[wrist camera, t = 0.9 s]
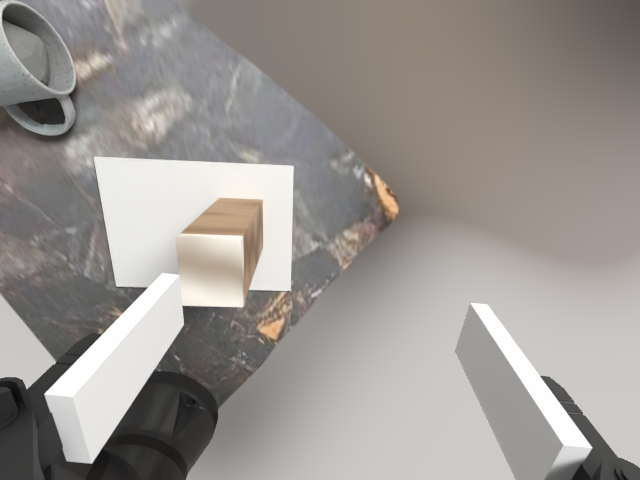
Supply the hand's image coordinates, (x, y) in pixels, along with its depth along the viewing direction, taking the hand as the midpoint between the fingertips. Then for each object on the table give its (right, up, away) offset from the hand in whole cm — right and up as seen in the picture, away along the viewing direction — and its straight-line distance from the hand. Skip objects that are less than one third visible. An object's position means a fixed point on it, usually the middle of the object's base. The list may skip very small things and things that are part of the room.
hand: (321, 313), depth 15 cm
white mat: (-15, +5, +25) cm, 29 cm away
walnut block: (-9, +5, +25) cm, 27 cm away
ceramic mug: (-29, +20, +19) cm, 40 cm away
